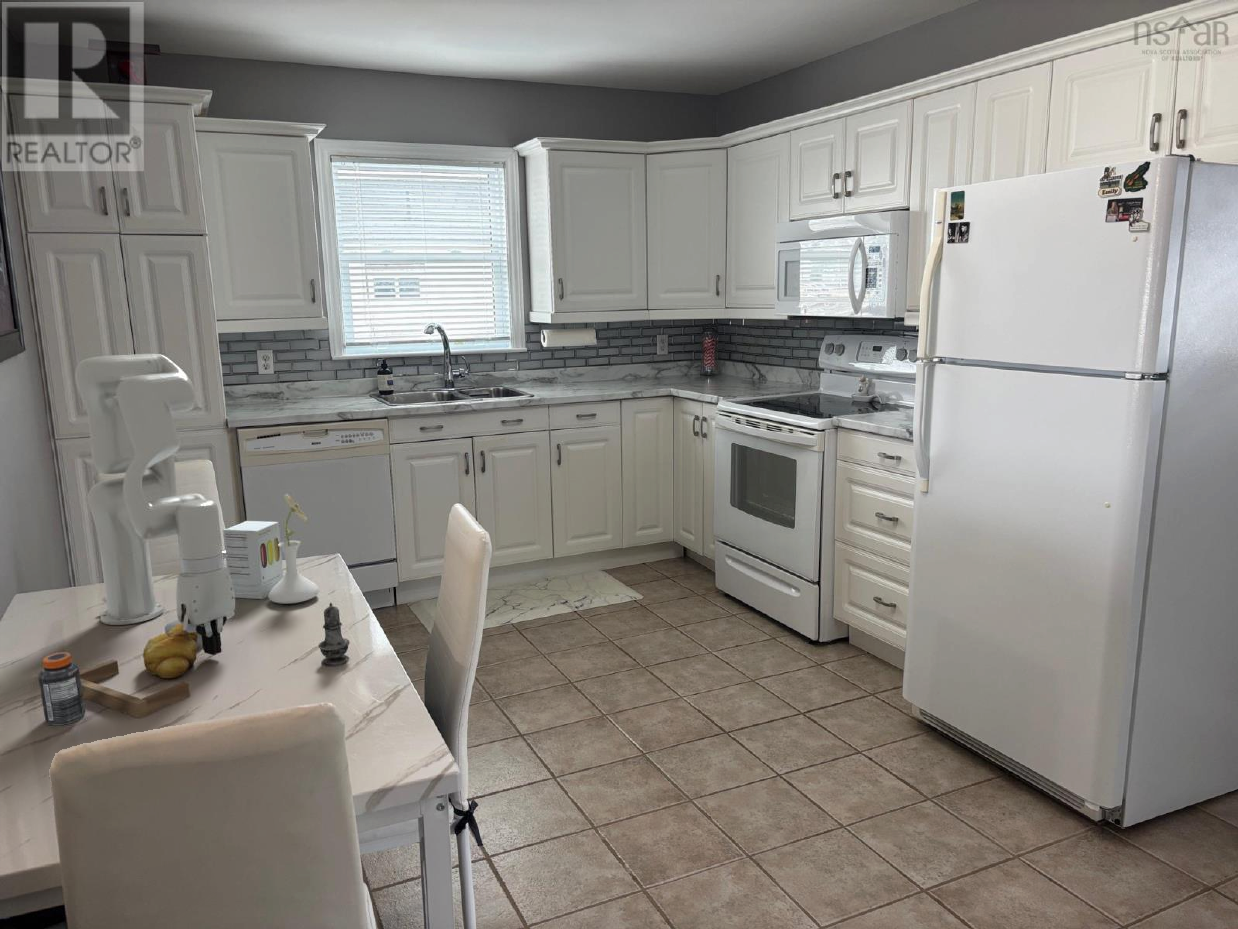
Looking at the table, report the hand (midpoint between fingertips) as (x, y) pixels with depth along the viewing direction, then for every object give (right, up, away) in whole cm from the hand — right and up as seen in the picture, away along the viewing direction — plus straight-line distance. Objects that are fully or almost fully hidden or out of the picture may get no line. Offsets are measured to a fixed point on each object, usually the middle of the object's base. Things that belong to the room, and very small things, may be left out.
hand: (212, 652), depth 177 cm
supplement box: (-7, +6, +40) cm, 41 cm away
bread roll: (-6, -3, -5) cm, 8 cm away
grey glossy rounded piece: (-9, 0, +8) cm, 12 cm away
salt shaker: (+25, -1, -2) cm, 25 cm away
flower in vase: (+4, +5, +35) cm, 35 cm away
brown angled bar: (-9, -4, -15) cm, 18 cm away
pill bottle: (-14, -6, -24) cm, 29 cm away
